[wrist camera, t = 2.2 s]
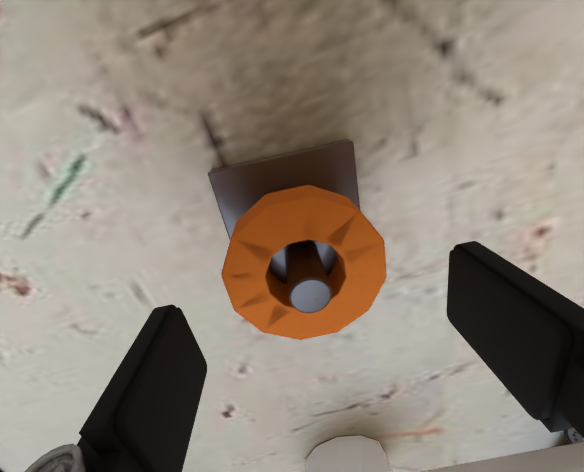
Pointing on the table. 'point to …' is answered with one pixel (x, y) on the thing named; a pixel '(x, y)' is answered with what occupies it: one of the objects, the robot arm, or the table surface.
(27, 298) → the table surface
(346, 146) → the stake
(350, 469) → the vase
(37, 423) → the table surface
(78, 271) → the table surface
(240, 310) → the ring
